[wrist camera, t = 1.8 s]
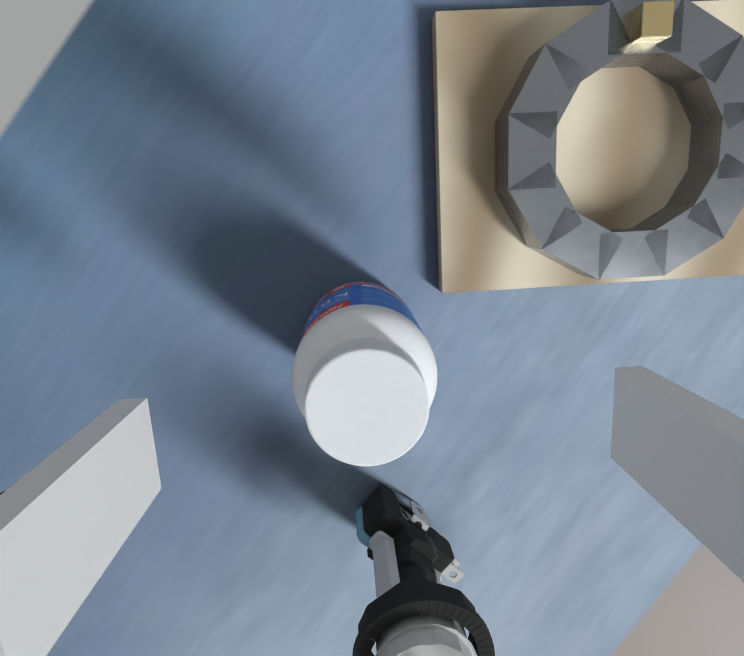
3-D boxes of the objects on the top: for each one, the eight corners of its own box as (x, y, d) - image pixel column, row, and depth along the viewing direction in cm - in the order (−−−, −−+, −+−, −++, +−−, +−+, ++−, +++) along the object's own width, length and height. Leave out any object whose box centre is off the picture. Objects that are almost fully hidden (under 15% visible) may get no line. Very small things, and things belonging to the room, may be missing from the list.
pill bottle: (335, 260, 25) (331, 290, 15) (433, 310, 26) (486, 367, 16) (286, 359, 26) (253, 445, 16) (382, 404, 27) (404, 511, 17)
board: (438, 290, 25) (442, 293, 24) (431, 19, 23) (435, 11, 22) (753, 270, 26) (769, 272, 25) (782, 6, 23) (801, -3, 22)
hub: (494, 279, 24) (513, 288, 22) (494, 21, 22) (515, -6, 19) (720, 265, 25) (767, 272, 22) (744, 11, 22) (800, -17, 20)
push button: (485, 528, 28) (559, 691, 19) (421, 594, 29) (461, 786, 19) (393, 458, 27) (421, 594, 17) (329, 529, 28) (322, 699, 18)
